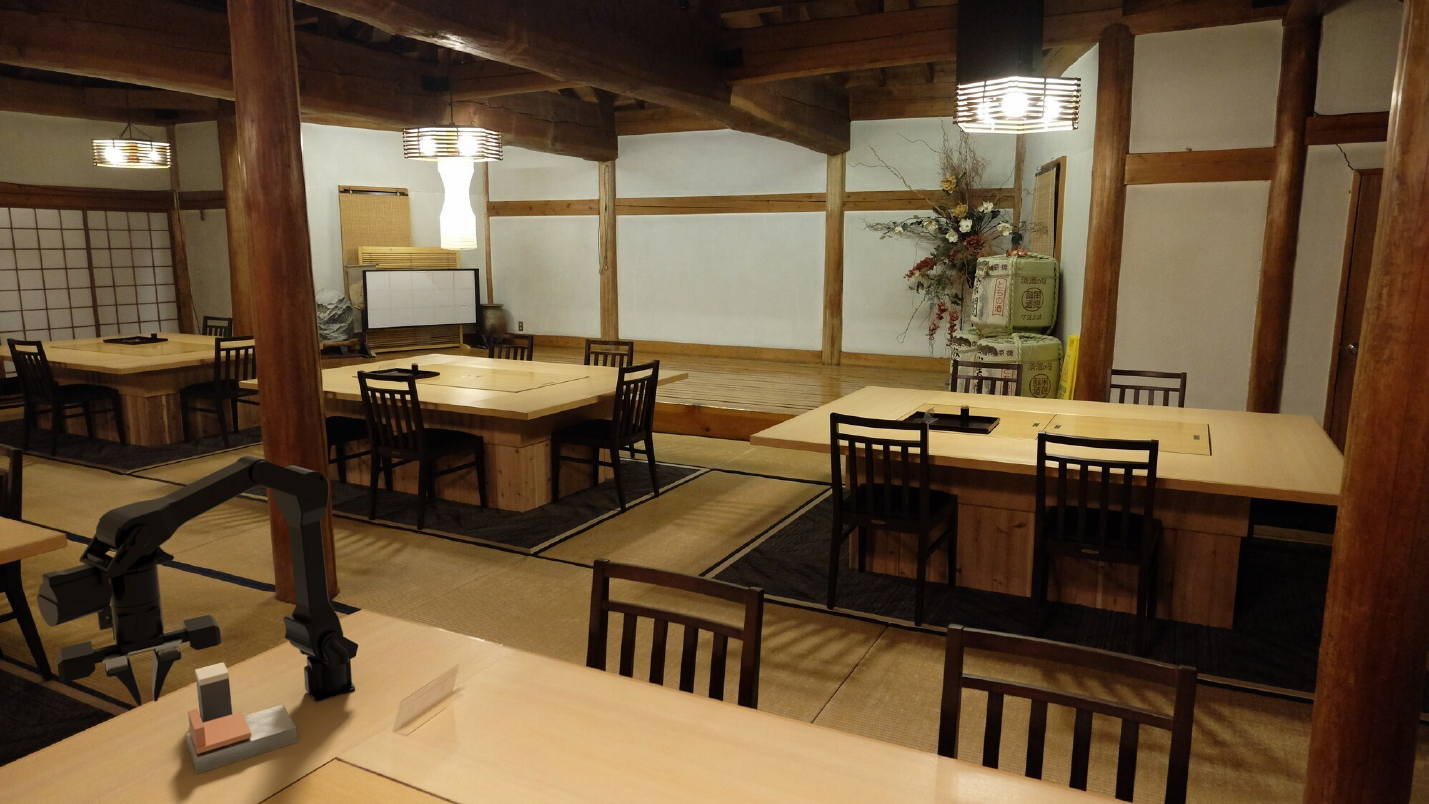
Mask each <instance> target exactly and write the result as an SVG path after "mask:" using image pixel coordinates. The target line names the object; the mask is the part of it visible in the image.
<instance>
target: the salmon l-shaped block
mask: <svg viewBox="0 0 1429 804" xmlns="http://www.w3.org/2000/svg"><path fill="white" fill-rule="evenodd" d="M198 709H199V708H194V709H191V710H188V711H187V714H188V723H189V724H188V725H189V727H188V728H189V732H190V734H191V737H192V740H193V743H194V745H195V748H196V751H197V754H199V753H202V752H205V751H209V750H212V749H215V748H218V747H222V746H225V745H228V744H232V743H235V742H238V741H241V740H245V739H248V738H251V731H250V729H249V727H248V725H247V722H246V720H245V718H244V716H245V715H244V714H243V712H242V711H239V712H236V713H232V715H228V716H225V717H221V718H218V719H214V720H211V721H207V722H204V723H203V722H202V720H201V717H200V712H199V710H198Z"/></svg>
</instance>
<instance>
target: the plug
mask: <svg viewBox="0 0 1429 804" xmlns="http://www.w3.org/2000/svg"><path fill="white" fill-rule="evenodd" d="M194 671H195V680H196V691H197V700H198V701H197V702H198V709H199V710H198V712H199V714H200V717H201V720H202V722H203V723H204V722H207V721H211V720H214V719H218V718H221V717H225V716H228V715H232V714H233V708H232V707H233V705H232V696H231V694H232V693H231V688H230V687H231V685H230V676H229V675H230V674H229V671H228V669H227V666H226V664H225V662H220V663H215V664H212V665H207V666H204V667H200V668H196V669H195V670H194Z"/></svg>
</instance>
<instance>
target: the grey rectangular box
mask: <svg viewBox="0 0 1429 804" xmlns="http://www.w3.org/2000/svg"><path fill="white" fill-rule="evenodd" d="M243 716H244V718H245V720H246V722H247V725H248V727H249V729H250V731H251V738H248V739H245V740H241V741H238V742H235V743H232V744H228V745H225V746H222V747H218V748H215V749H212V750H209V751H205V752H202V753H199V754H197V751H196V748H195V745H194V743H193V740H192V737H191V734H190V731H187V732H186V734H185V735H186V742H187V743H186V745H187V750H188V752H189V756H190V758H191V761H192V764H193V767H194V771H195V773H196V775H198V774H202V773H204V772H207V771H211V770H215V769H218V768H220V767H224V766H226V765H230V764H233V763H235V762H236V763H237V762H238V761H242V760H245V759H248V758H252V757H255V756H258V755H260V754H264V753H266V752H270V751H274V750H276V749H279V748H284V747H286V746H289V745H292V744H295V743H298V736H297V725H295V723H294V720H293V719H292V717H291V715H290V714H289V712H288V710H287V708H286V707H285V704H279V705H277V706H273V707H270V708H266V709H263V710H259V711H256V712H253V713H249V714H246V715H243Z"/></svg>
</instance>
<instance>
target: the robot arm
mask: <svg viewBox="0 0 1429 804" xmlns="http://www.w3.org/2000/svg"><path fill="white" fill-rule="evenodd" d="M258 486H260V487H265V488H268V489H270V490H271V491H272V494H273V497H274V500H275V504H276V507H277V508H278V509H279V511H280V513H281V514H282V516H283V518H284V520H285V521H286V523H287V527H288V537H289V538H288V539H289V546H290V558H291V566H292V575H293V583H294V584H293V585H294V593H295V607H294V609H293V611H292V613H291V614H289V615H285V616H284V617H283V622H284V626H285V635H284V639H285V640H288V641H289V644H290V645H291V646H293V648H295V649H298V650H299V652H300V654H301V655H305V656H306V665H305V666H304V667H303V673H304V674H303V675H304V689H305V690H306V692H307V694H308V695H309V696H311V697H312V698H313V700H314V702H316V703H317V702H321V701H324V700H327V699H331V698H334V697H338V696H341V695H344V694H348V693H351V692H354V691H356V686H355V684H353V681H352V679H353V677H352V666H351V659H354V658H356V656H357V653H358V648H359V644H357V643H356V642H355V641H352V640H351V639H349V638H347V637H346V636H344V631H343V628H342V624H341V620H340V617H339V615H338V614H337V612H336V611H335V609H334V607H333V605H332V604H331V602H330V600H329V592H328V582H327V571H326V561H325V551H324V540H323V532H322V518H323V517H324V515H325V512H326V510H327V508H328V506H329V494H330V493H329V491H330V482H329V480H328V478H327V476H326V475H324V474H323V473H322V472H320V471H316V470H315V471H314V470H311V469H309V468H304V467H301V466H296V465H294V464H293V465H287V466H281V465H277V464H276V463H272V462H270V460H267V459H265V458H263V457H259V456H255V455H245V456H242V457H240V458H238V459H237V460H236V461H235V462H233V463H231V464H229V465H227V466H224V467H223V468H220V469H218V470H217V471H214V472H212V473H210V474H208V475H205V476H203V477H202V478H200V479H197V480H196V481H194V482H192V483H189V484H187V485H185V486H183V487H181V488H178V489H177V490H175V491H173V492H171V493H168V494H167V495H164V496H161V497H158V498H154V499H153V498H152V499H147V500H141V501H136V502H132V503H130V504H127V505H123V506H120V507H116V508H113V509H111V510H108V511H107V512H105V513H103V515H101V516H100V518H98V519H99V521H98V522H97V525H96V530H95V534H94V536H93V537H92V539H91V540H90V542H89V543H88V545H87V546H86V548H85V549H84V551H83V553H82V554H81V556H80V557H79V559H78V561H79V563H81V565H77V566H73V567H70V568H66V569H63V570H55V571H54V570H53V571H49V572H46V573H43V574H42V575H41V576H42V583H41V584H40V585H39V588H38V594H37V595H36V601H37V602H36V603H37V605H38V606H37V607H38V609H39V613H40V615H41V617H42V619H43V620H44V622H45V623H46V625H48V626H49V627H52V628H54V627H56V626H59V625H62V624H66V623H69V622H72V621H76V620H79V619H81V618H82V619H83V618H85V617H87V616H91V615H94V614H97V621H98V623H97V624H98V630H100V631H104V630H109V629H112V637H113V641H115V644H111V645H106V646H102V647H101V646H100V647H97V648H93V645H92V641H91V640H90V641H89V640H88V641H84V642H80V643H75V644H71V645H67V646H66V645H65V646H62V647H60V648H59V649H58V650H57V652H56V654H55V655H56V662H57V663H56V664H57V673H58V680H59V682H60V683H69V682H73V681H76V680H80V679H85V678H89V677H90V676H91V675H92V674H93V673H94V672H95V671H96V664H99V663H102V664H103V666H104V667H103V668H104V673H105V676H106V678H111V677H116V678H117V679H118V681H120V682H121V684H123V686H125V688H126V689H127V691H128V692H129V694H130V695H131V697H132V698H133V700H134V703H136V705H137V706H139V707H140V706H142V696H141V692H140V689H139V686H138V685H139V684H138V682H137V679H136V676H135V672H134V670H133V666H132V663H131V659H130V656H134V655H138V654H142V653H145V652H146V653H147V652H150V651H152V680H151V681H152V682H151V683H152V685H151V687H152V688H151V689H152V692H151V693H152V698H153V701H154V702H155V703H156V702H158V701H159V698H160V695H161V692H162V689H163V687H164V684H165V680H166V678H167V676H168V674H169V672H170V670H171V669H172V666H173V664H174V662H178V661H179V660H181V659H182V656H183V655H182V653H181V650H180V648H181V644H185V643H189V647H190V648H192V649H194V651H195V650H196V651H201V650H204V649H207V648H212V647H217V646H219V645H220V644H221V643H222V639H221V631H220V630H221V629H220V626H219V624H218V622H217V620H216V618H215V617H213V616H212V615H210V614H205V615H201V616H198V617H191V618H188V619H184V620H182V628H181V629H176V630H175V629H174V630H173V629H172V630H169V631H165V623H164V616H163V608H162V597H161V588H160V579H159V569H158V566H159V565H161V564H164V563H168V562H171V561H173V560H175V556H174V555H173V554H170V553H169V552H166V551H165V550H164V549H162V547H161V546H162V545H163V544H165V543H167V541H169V540H170V539H171V538H172V537H173V536H174V534H175V533H176V532H177V531H178V529H180V527H181V526H184V524H186V523H188V522H190V521H192V520H193V519H195V518H197V517H199V516H201V515H203V514H205V513H207V512H209V511H211V510H213V509H215V508H216V507H219V506H220V505H223V504H224V503H226V502H228V501H230V500H232V499H234V498H236V497H238V496H240V495H242V494H244V493H246V492H248V491H250V490H252V489H254V488H255V487H258ZM109 551H113V552H115V554H114V555H113V556H111V555H109V554H107V553H108V552H109Z"/></svg>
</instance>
